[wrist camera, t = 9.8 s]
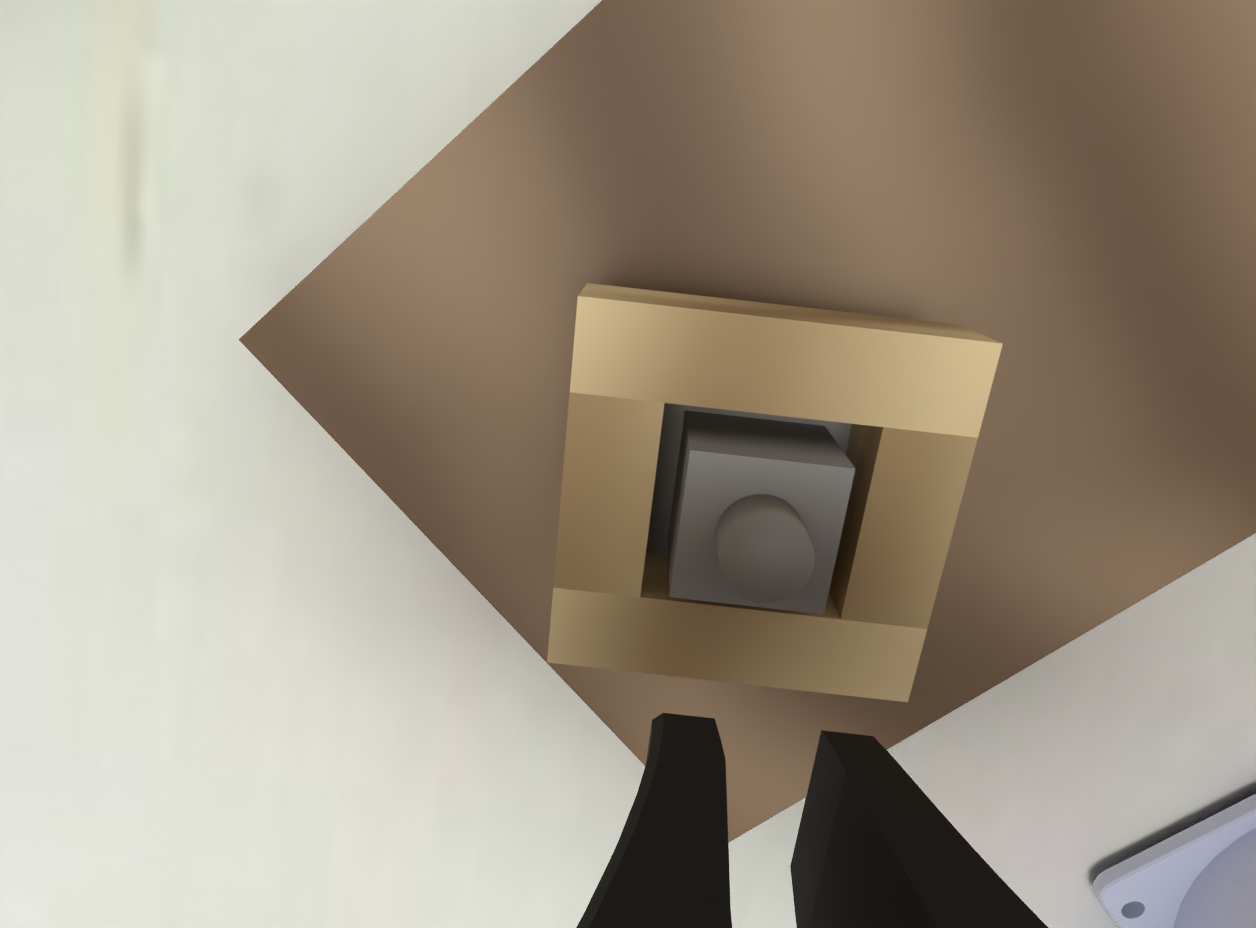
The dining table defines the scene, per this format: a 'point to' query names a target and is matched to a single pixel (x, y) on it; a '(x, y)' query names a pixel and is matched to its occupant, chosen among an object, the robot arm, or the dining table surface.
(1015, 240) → the board
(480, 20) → the dining table surface
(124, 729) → the dining table surface
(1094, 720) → the dining table surface
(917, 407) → the square wooden ring
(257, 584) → the dining table surface
